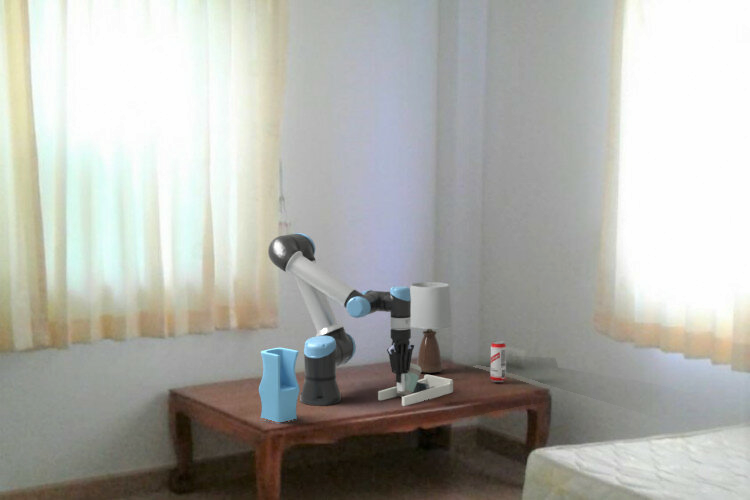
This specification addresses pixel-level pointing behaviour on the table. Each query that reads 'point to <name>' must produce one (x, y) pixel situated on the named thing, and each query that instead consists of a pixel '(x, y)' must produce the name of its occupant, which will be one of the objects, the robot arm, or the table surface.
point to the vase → (279, 385)
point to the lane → (440, 388)
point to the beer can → (498, 361)
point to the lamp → (430, 320)
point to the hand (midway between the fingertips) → (400, 390)
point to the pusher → (421, 387)
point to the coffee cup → (410, 380)
